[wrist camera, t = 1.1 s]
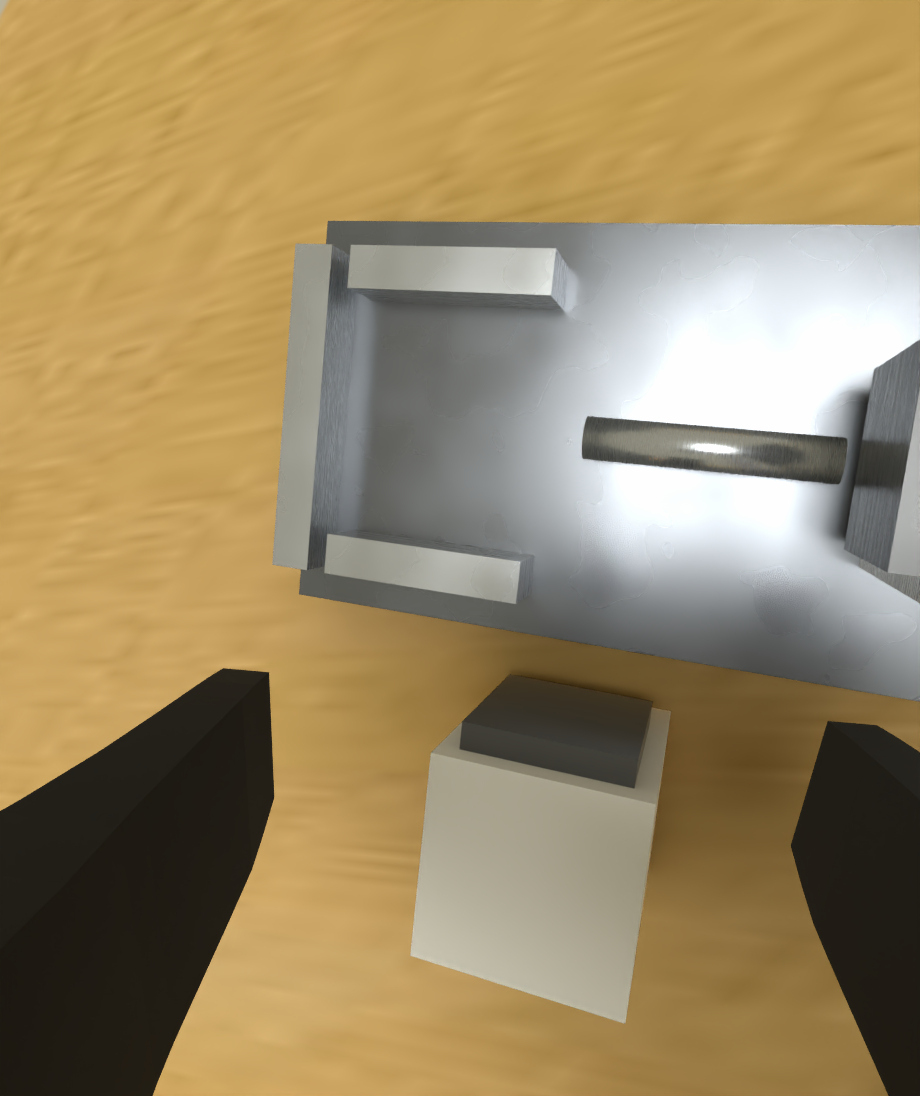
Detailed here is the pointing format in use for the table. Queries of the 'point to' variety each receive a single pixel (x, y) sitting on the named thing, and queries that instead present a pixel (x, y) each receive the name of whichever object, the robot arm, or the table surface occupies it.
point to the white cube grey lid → (542, 842)
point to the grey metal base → (616, 437)
